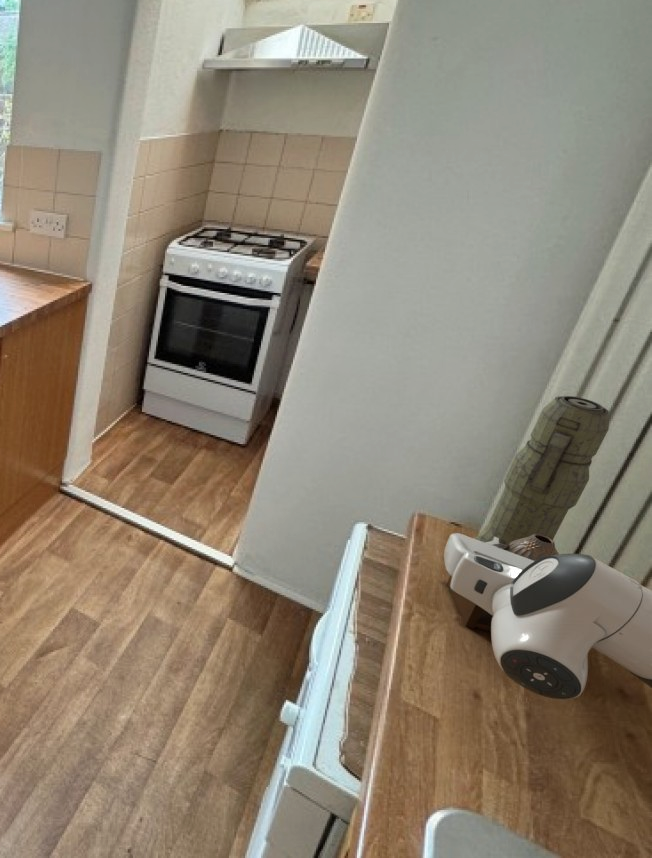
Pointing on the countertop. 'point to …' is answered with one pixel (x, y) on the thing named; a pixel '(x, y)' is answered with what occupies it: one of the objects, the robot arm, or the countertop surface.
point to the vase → (533, 547)
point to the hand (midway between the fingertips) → (533, 554)
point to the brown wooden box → (470, 611)
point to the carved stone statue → (549, 470)
